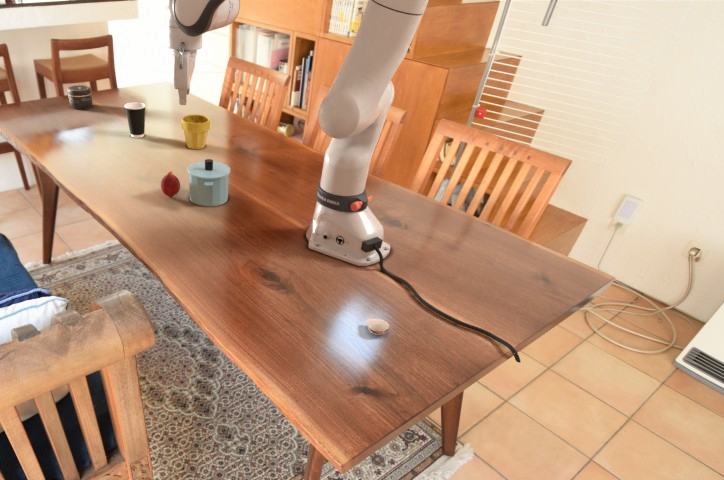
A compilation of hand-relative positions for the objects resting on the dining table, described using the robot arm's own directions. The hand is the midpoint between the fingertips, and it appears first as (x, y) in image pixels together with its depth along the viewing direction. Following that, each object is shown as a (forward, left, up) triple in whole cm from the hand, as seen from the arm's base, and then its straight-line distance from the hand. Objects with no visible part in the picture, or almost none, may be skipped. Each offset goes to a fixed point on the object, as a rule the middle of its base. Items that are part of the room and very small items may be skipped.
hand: (184, 98), depth 130 cm
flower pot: (+31, -31, -28) cm, 52 cm away
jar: (+100, -24, -28) cm, 107 cm away
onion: (+3, +4, -28) cm, 28 cm away
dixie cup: (+54, -21, -28) cm, 65 cm away
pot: (-5, -5, -28) cm, 29 cm away
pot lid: (-5, -5, -19) cm, 20 cm away
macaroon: (-75, +11, -28) cm, 80 cm away
